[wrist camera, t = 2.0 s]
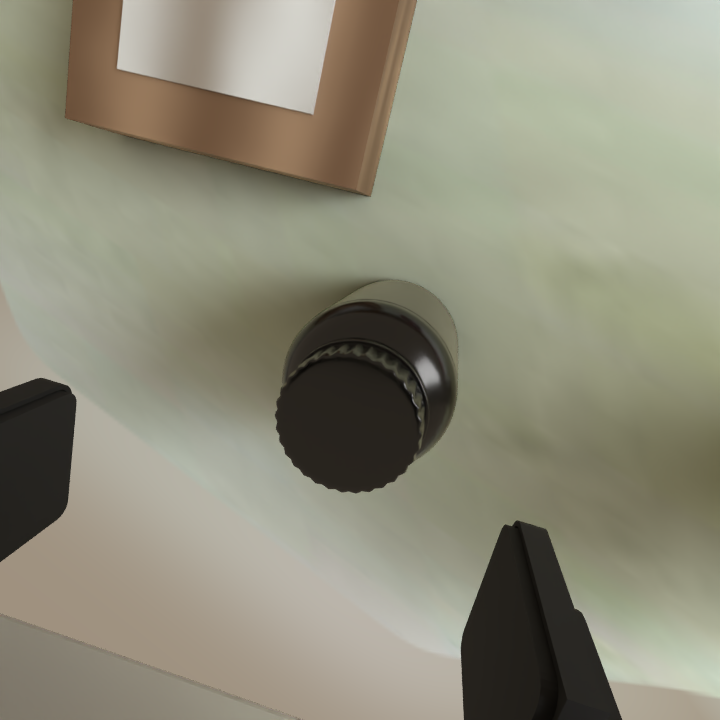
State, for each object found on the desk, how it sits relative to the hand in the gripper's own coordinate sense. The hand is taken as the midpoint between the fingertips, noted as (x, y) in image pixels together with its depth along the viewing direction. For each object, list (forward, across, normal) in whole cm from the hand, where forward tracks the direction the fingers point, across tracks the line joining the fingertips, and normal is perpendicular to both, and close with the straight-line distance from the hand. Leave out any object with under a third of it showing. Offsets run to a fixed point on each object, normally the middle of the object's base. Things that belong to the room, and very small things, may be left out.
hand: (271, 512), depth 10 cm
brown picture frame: (+18, +9, -14) cm, 24 cm away
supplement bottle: (+18, -1, 0) cm, 18 cm away
